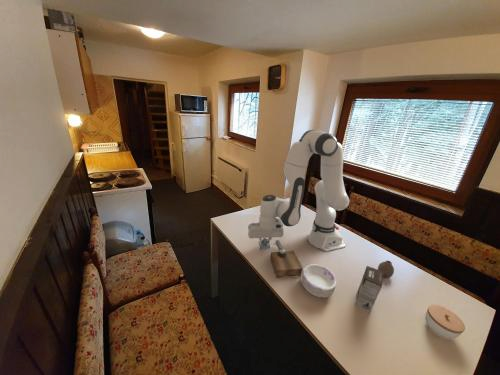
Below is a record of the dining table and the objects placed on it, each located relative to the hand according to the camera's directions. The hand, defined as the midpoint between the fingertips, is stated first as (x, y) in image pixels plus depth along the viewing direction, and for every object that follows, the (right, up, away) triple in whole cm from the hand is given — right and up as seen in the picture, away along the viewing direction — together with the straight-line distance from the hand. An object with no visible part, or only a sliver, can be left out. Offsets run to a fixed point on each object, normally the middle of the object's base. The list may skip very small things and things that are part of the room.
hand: (264, 242), depth 118 cm
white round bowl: (+23, -16, -21) cm, 35 cm away
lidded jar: (+67, -25, -37) cm, 80 cm away
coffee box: (+43, -19, -27) cm, 54 cm away
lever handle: (+8, -2, -6) cm, 10 cm away
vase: (+62, -14, -12) cm, 64 cm away
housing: (+10, -10, -11) cm, 18 cm away
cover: (0, -2, +1) cm, 2 cm away
